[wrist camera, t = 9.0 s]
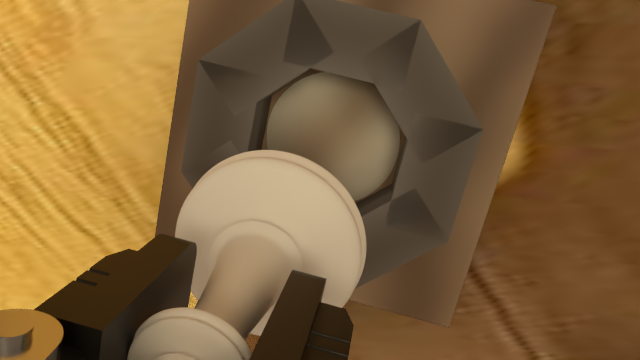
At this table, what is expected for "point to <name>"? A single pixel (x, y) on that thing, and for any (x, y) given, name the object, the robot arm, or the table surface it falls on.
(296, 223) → the chess piece
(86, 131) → the table surface
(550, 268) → the table surface
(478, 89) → the collar socket
